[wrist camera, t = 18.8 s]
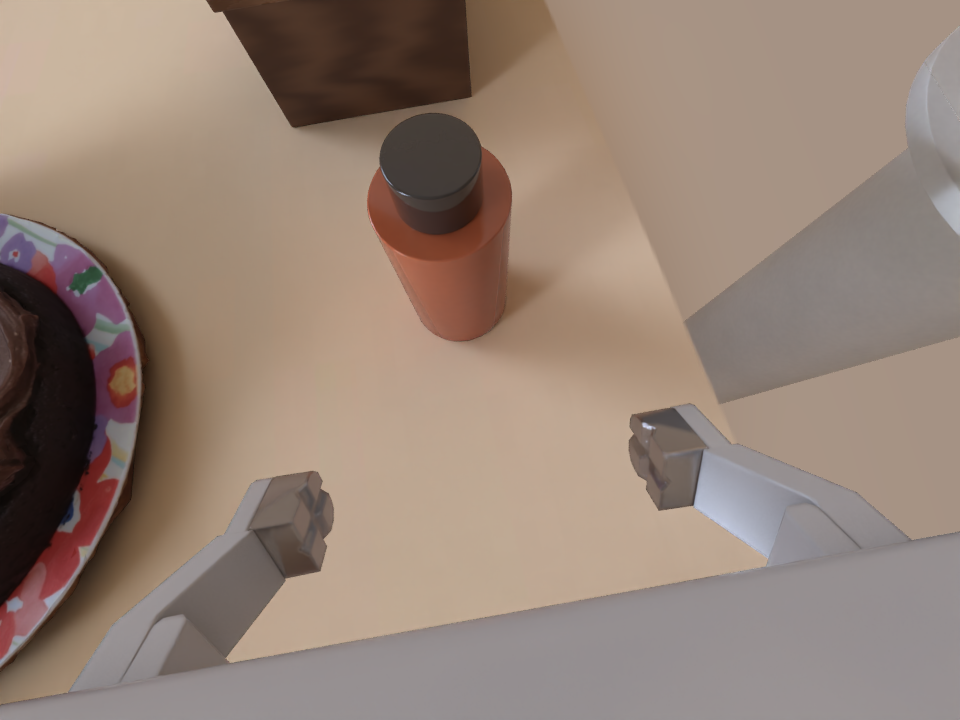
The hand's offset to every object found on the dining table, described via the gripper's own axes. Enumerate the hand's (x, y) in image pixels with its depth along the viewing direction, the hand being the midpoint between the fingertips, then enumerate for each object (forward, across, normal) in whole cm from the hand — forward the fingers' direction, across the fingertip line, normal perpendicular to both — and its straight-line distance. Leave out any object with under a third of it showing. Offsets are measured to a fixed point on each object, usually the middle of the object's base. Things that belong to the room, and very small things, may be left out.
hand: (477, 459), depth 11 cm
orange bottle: (+14, 0, +1) cm, 14 cm away
